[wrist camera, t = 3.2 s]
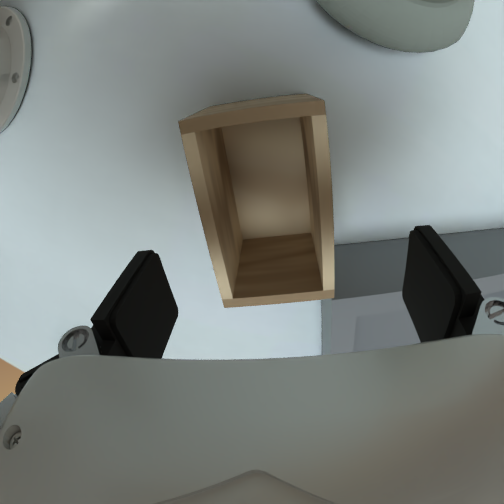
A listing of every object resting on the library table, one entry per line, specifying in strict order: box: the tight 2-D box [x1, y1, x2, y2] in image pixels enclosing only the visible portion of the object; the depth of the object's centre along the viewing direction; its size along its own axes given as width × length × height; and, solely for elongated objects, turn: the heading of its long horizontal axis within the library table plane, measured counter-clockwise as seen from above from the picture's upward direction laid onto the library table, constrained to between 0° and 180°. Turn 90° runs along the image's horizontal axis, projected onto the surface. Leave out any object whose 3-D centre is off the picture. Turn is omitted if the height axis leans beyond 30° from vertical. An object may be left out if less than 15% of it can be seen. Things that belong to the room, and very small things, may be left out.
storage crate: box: [321, 228, 504, 355], centre depth 24 cm, size 20×22×6 cm
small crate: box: [178, 94, 335, 308], centre depth 17 cm, size 10×6×7 cm, turn 9°
